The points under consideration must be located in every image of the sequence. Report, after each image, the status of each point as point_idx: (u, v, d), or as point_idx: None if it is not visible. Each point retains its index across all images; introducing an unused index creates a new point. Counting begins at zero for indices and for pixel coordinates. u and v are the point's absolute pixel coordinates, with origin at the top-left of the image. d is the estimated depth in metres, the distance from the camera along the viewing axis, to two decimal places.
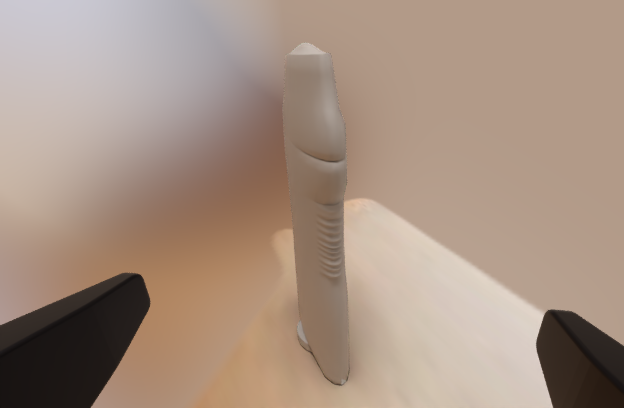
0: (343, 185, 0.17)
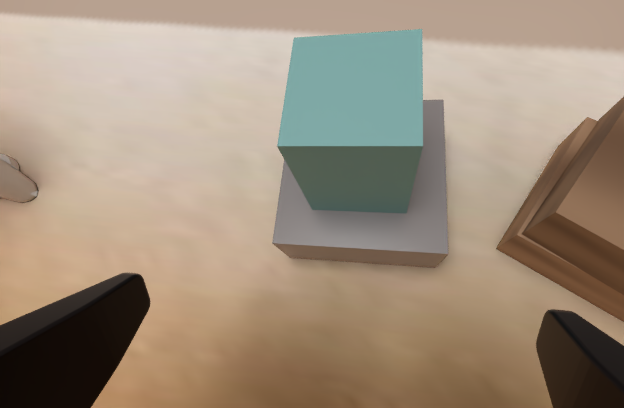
0: None
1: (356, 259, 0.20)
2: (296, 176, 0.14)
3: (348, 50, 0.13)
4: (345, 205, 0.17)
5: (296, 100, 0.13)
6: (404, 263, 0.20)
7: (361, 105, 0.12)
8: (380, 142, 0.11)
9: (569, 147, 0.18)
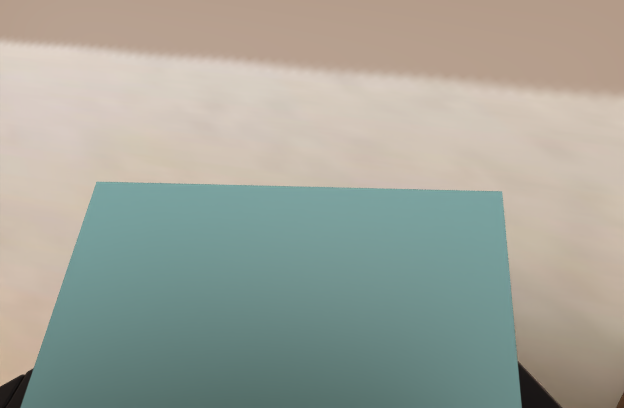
0: None
1: None
2: None
3: (245, 252, 0.04)
4: None
5: None
6: None
7: None
8: None
9: None
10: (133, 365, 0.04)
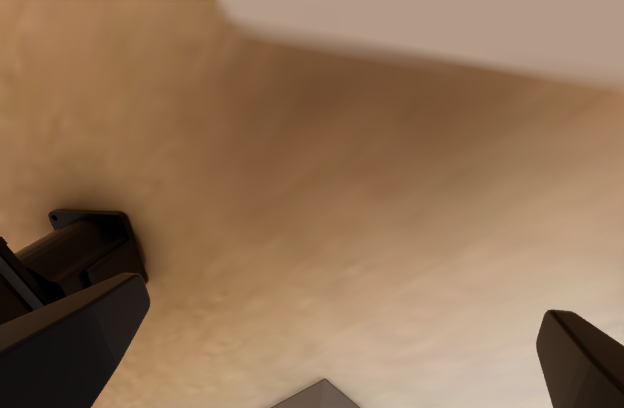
0: None
1: (288, 406, 0.29)
2: None
3: None
4: None
5: None
6: None
7: None
8: None
9: None
10: None
